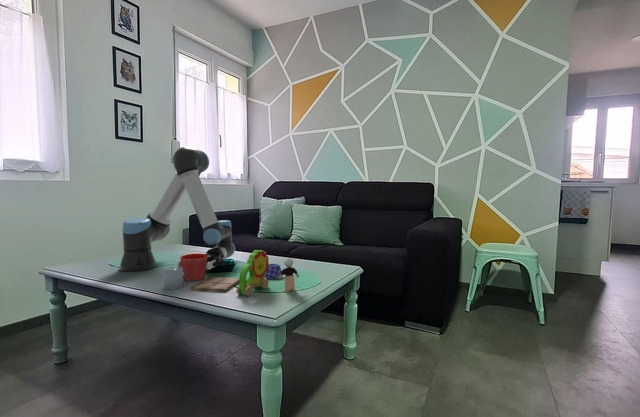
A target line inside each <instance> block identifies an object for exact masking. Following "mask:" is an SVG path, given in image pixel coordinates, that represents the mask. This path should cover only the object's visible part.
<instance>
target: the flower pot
mask: <svg viewBox="0 0 640 417" xmlns="http://www.w3.org/2000/svg"><path fill="white" fill-rule="evenodd" d="M207 258H208V256H207V255H206V253H188V254H184V255H181V256H180V258H179V259H180V260H179V261H181V265H182V267H181V268H183V278H184V280H185V281H189V282H194V281H202V280H204V279H205V276H206V270H207V263H208V262H207Z"/></svg>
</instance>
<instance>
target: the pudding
mask: <svg viewBox="0 0 640 417" xmlns="http://www.w3.org/2000/svg"><path fill="white" fill-rule="evenodd" d="M281 271H282V268H281V265H280V264H278V263H269V266H268V268H267V272H266V273H265V279H267V278H269V279H267V280H278V279H280V278H279V276H280V273H281ZM273 278H274V279H273ZM283 278H285V275H283V276H282V278H281V279H283Z"/></svg>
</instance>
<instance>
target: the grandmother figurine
mask: <svg viewBox="0 0 640 417" xmlns="http://www.w3.org/2000/svg"><path fill="white" fill-rule="evenodd" d="M284 265H285V267H286V268H283V269H281V273H280V276H279V279H280V280H281V279H283V278H282V276H283V275H285V277H284V291H283V292H284V293H287V294H288V293H290V292H291V293H295V292H296V290H297V289H296V284H295V283H296V282H295V276H296V278H299V277H300V275H299V272H298V271H297V269H296V268H295V267H292V266H293V265H294V260H293V259H292V258H290V257H288V258H286V259H285V260H284ZM294 274H295V276H294Z"/></svg>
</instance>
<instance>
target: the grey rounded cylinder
mask: <svg viewBox="0 0 640 417" xmlns="http://www.w3.org/2000/svg"><path fill="white" fill-rule="evenodd" d="M162 272H163V289H164V290H170V291H171V290H177V289H182V288H183V287H184V273H183V268H182V267H177V266H174V267H166V268H164V269H163V271H162Z"/></svg>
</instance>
